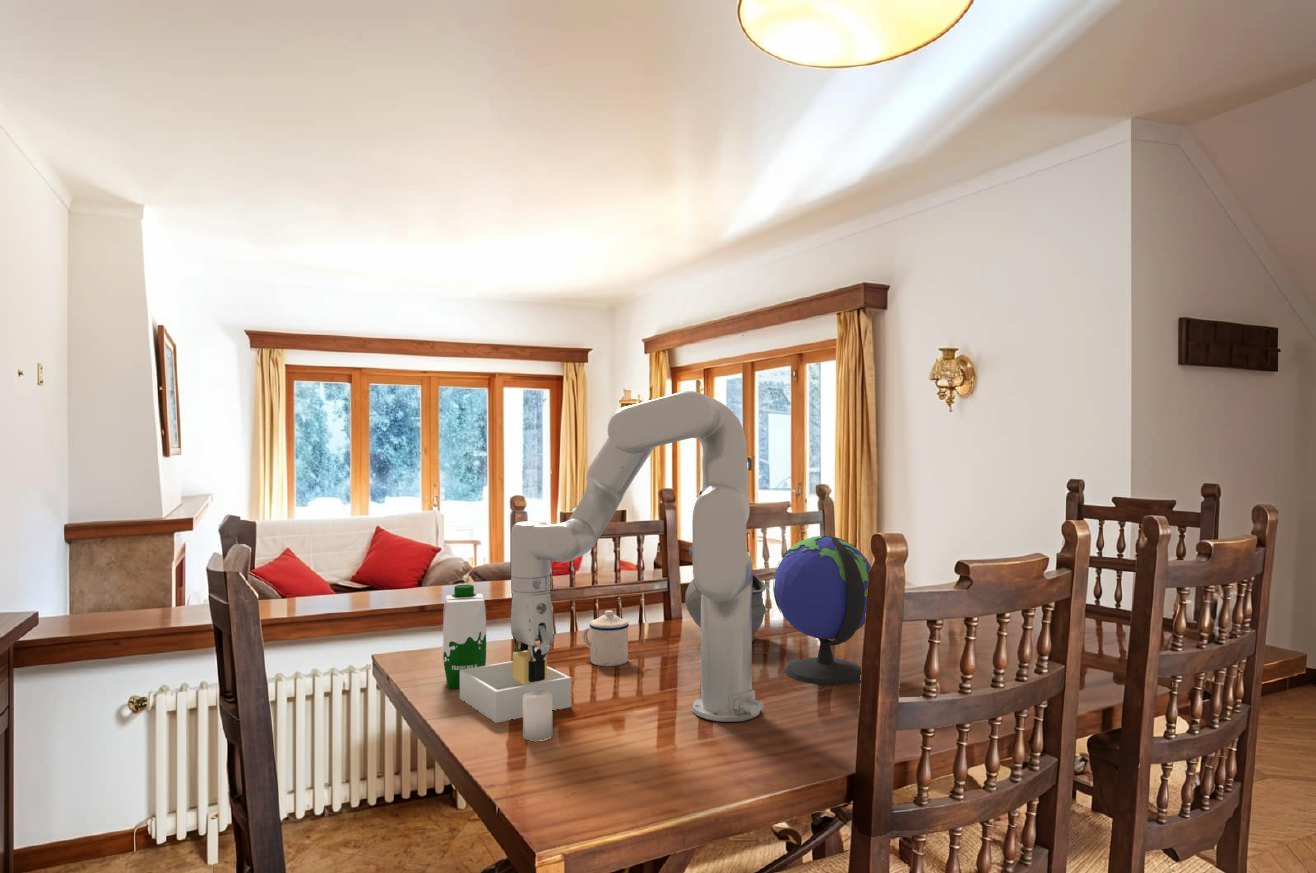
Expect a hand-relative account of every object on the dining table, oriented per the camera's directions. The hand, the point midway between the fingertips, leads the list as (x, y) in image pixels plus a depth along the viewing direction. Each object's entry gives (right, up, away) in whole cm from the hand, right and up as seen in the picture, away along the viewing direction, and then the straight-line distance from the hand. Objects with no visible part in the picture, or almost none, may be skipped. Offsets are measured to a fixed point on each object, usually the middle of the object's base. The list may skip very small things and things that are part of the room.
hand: (530, 676), depth 158 cm
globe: (+62, -5, +18) cm, 64 cm away
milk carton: (-15, -5, +11) cm, 20 cm away
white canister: (+5, -4, -20) cm, 21 cm away
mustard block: (0, -1, 0) cm, 1 cm away
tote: (-3, -5, -2) cm, 6 cm away
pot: (+43, -5, +47) cm, 63 cm away
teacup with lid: (+13, -5, +28) cm, 31 cm away
